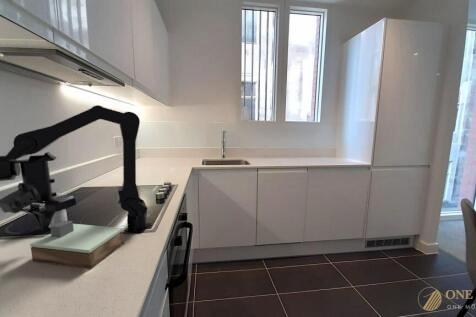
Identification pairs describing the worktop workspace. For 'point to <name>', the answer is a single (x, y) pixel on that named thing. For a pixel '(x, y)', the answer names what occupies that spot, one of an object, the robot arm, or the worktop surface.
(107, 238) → the lid
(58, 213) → the energy drink
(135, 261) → the worktop surface
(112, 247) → the tea box
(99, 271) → the worktop surface
